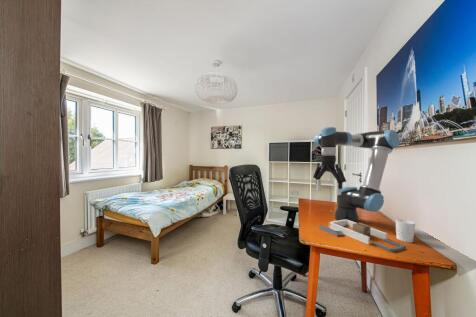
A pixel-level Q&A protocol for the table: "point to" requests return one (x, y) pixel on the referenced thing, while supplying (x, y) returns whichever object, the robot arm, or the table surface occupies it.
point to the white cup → (405, 230)
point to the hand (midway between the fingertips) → (328, 192)
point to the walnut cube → (362, 229)
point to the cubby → (365, 239)
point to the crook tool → (331, 231)
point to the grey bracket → (398, 248)
